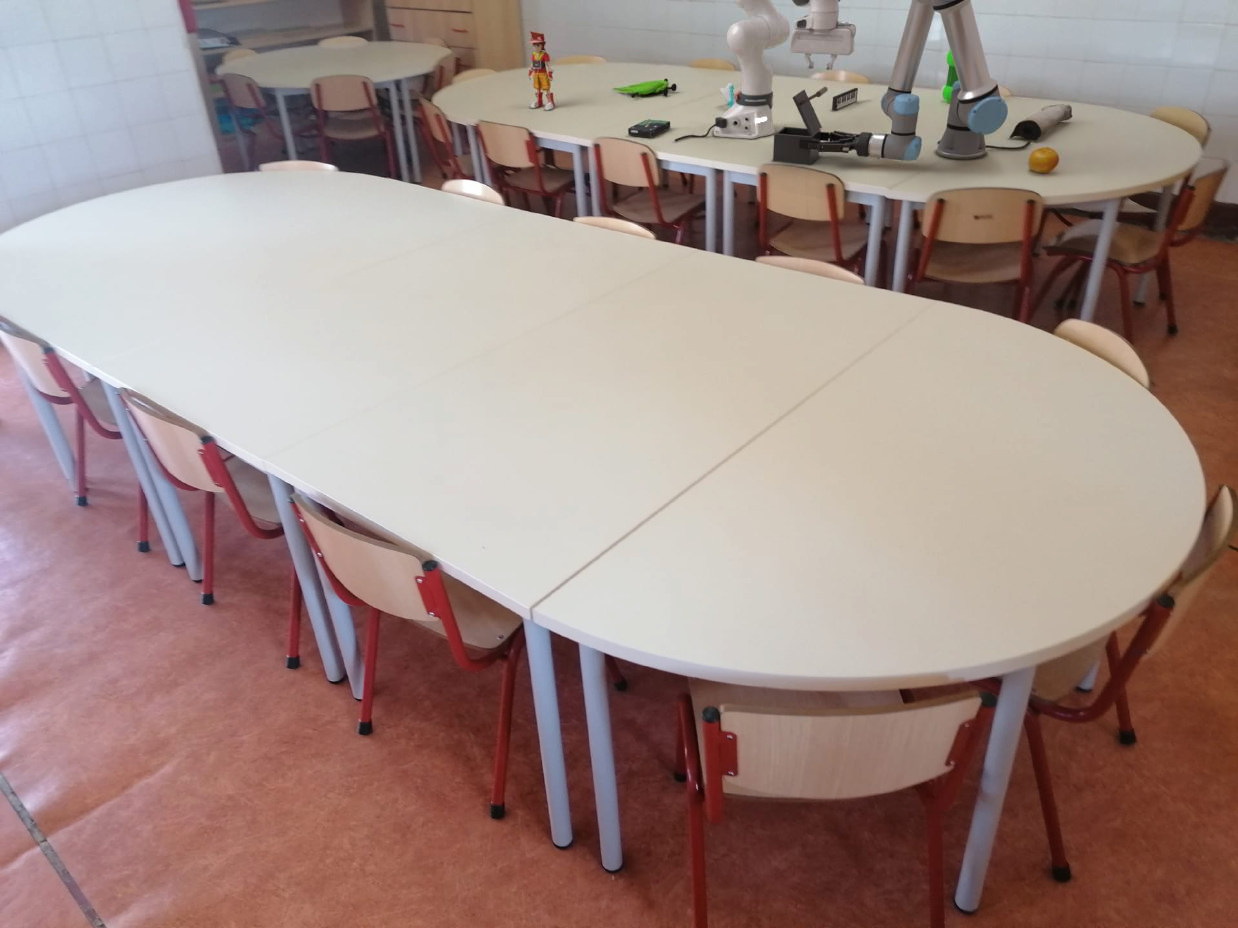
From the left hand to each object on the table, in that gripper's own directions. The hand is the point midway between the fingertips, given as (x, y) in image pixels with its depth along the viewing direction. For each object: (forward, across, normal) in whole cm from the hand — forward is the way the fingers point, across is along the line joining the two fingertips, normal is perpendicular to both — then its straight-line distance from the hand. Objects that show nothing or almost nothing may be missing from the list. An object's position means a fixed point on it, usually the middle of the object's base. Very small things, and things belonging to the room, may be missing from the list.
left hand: (819, 69), depth 285 cm
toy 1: (+30, +132, -36) cm, 140 cm away
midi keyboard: (+29, +12, -74) cm, 80 cm away
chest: (+29, +6, 0) cm, 29 cm away
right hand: (+22, +3, 0) cm, 22 cm away
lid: (+14, +3, 0) cm, 14 cm away
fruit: (+28, -70, -10) cm, 77 cm away
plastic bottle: (+29, -27, -91) cm, 99 cm away
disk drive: (+29, +70, -15) cm, 77 cm away
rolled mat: (+29, -64, -58) cm, 91 cm away
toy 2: (+30, +104, -73) cm, 130 cm away
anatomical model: (+29, +53, -59) cm, 85 cm away
